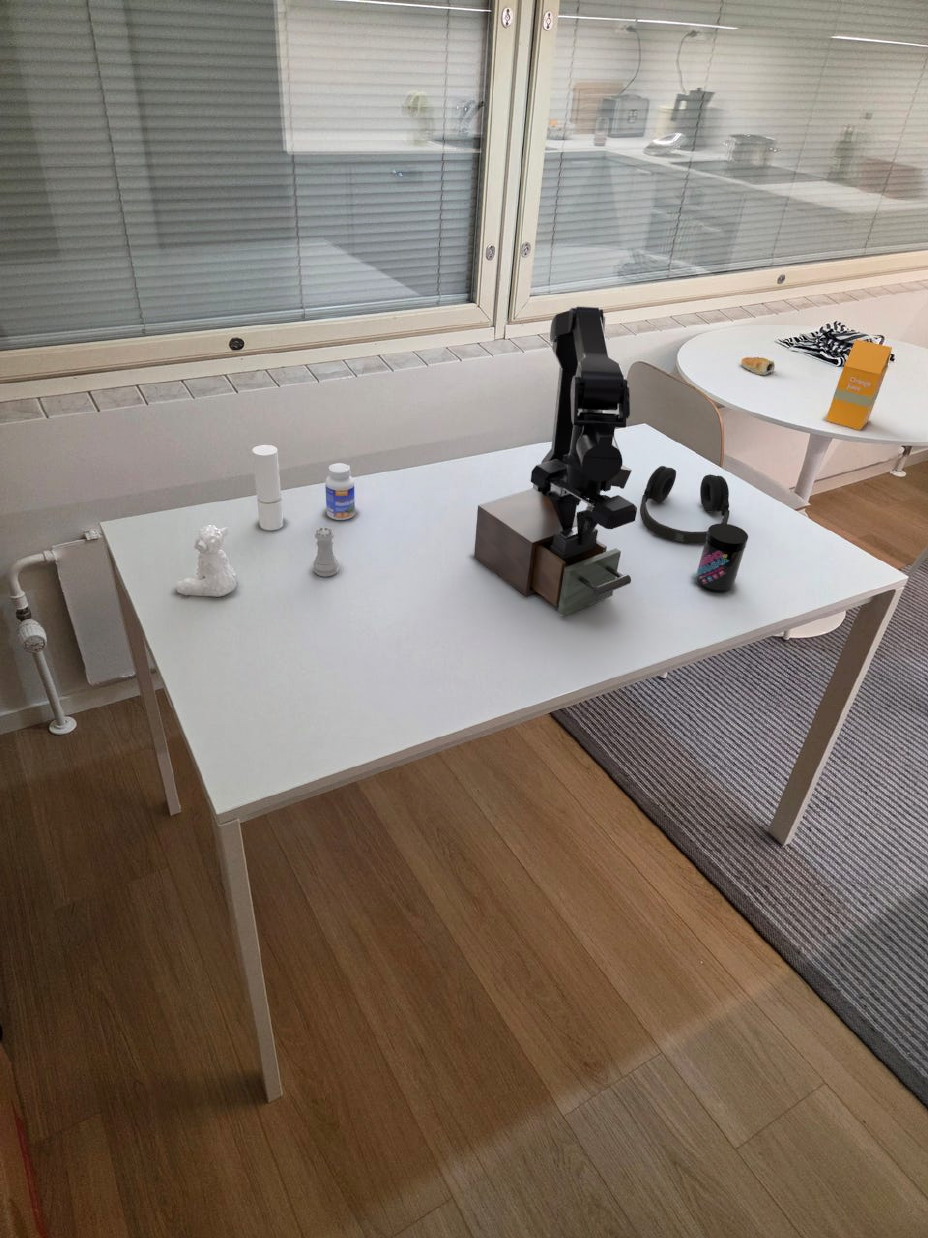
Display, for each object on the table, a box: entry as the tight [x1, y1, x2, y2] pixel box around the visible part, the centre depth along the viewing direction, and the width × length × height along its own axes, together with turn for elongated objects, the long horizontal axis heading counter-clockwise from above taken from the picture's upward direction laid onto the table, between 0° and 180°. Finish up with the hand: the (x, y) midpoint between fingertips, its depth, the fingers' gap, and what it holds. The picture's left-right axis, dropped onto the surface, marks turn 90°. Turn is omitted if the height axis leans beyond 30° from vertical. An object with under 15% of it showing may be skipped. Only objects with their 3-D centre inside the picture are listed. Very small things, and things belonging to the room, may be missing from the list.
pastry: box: [740, 356, 776, 376], centre depth 241 cm, size 9×7×4 cm
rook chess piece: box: [312, 526, 340, 578], centre depth 141 cm, size 4×4×8 cm
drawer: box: [530, 539, 632, 617], centre depth 138 cm, size 18×11×9 cm, turn 36°
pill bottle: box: [324, 462, 356, 521], centre depth 157 cm, size 5×5×10 cm
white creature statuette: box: [175, 524, 238, 598], centre depth 134 cm, size 10×9×12 cm
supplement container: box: [695, 522, 749, 594], centre depth 144 cm, size 7×7×10 cm
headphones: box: [639, 465, 730, 545], centre depth 164 cm, size 17×8×20 cm
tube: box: [251, 444, 284, 531], centre depth 150 cm, size 4×4×15 cm
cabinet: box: [473, 487, 577, 597], centre depth 145 cm, size 15×13×11 cm
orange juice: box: [825, 338, 893, 431], centre depth 208 cm, size 8×9×20 cm
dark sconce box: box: [550, 526, 599, 560], centre depth 135 cm, size 8×3×4 cm, turn 126°
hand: (574, 539), depth 135 cm, fingers open, 3 cm apart
